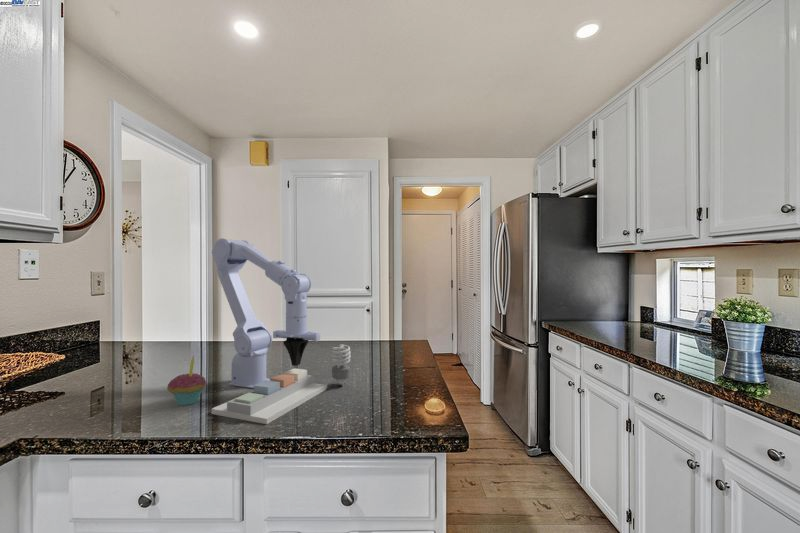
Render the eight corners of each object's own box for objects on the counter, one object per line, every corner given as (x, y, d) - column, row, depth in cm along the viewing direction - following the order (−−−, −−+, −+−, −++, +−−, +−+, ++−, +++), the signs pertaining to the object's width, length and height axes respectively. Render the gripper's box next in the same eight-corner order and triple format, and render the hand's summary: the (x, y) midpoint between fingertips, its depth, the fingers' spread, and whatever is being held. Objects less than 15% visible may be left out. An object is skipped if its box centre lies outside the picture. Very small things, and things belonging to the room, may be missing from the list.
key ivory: (284, 380, 102) (284, 372, 102) (294, 375, 106) (294, 368, 106) (297, 382, 101) (297, 374, 101) (307, 377, 105) (307, 369, 105)
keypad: (211, 413, 86) (211, 399, 86) (280, 382, 110) (280, 371, 110) (266, 424, 81) (266, 408, 81) (327, 389, 104) (327, 377, 104)
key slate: (253, 394, 91) (253, 385, 91) (265, 388, 95) (265, 380, 95) (268, 396, 89) (268, 387, 89) (279, 390, 94) (279, 382, 94)
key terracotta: (269, 386, 97) (270, 378, 97) (280, 381, 101) (280, 373, 101) (283, 388, 95) (283, 380, 95) (294, 383, 99) (294, 375, 99)
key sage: (235, 408, 85) (235, 398, 85) (248, 401, 89) (248, 392, 89) (250, 410, 84) (250, 401, 84) (263, 404, 88) (263, 394, 88)
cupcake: (213, 398, 96) (213, 353, 96) (185, 410, 88) (185, 360, 88) (188, 394, 99) (189, 350, 99) (159, 405, 91) (159, 357, 91)
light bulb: (346, 388, 104) (347, 346, 104) (328, 387, 105) (328, 345, 105) (353, 382, 110) (353, 342, 110) (335, 381, 111) (335, 341, 111)
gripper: (265, 317, 102) (265, 365, 102) (310, 319, 97) (309, 371, 97) (282, 314, 109) (281, 359, 109) (324, 316, 104) (324, 364, 104)
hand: (296, 364), depth 103 cm, fingers closed
